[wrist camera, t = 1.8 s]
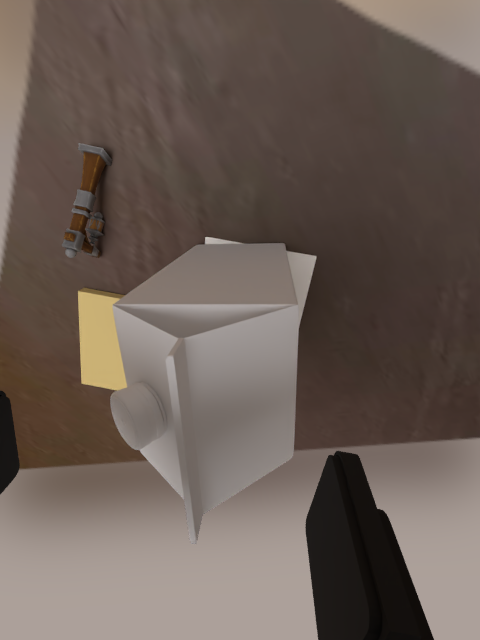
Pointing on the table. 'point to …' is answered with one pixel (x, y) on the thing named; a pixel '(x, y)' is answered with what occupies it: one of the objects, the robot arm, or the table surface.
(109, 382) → the coaster
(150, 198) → the table surface
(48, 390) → the table surface
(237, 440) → the milk carton
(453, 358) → the table surface
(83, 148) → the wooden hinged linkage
